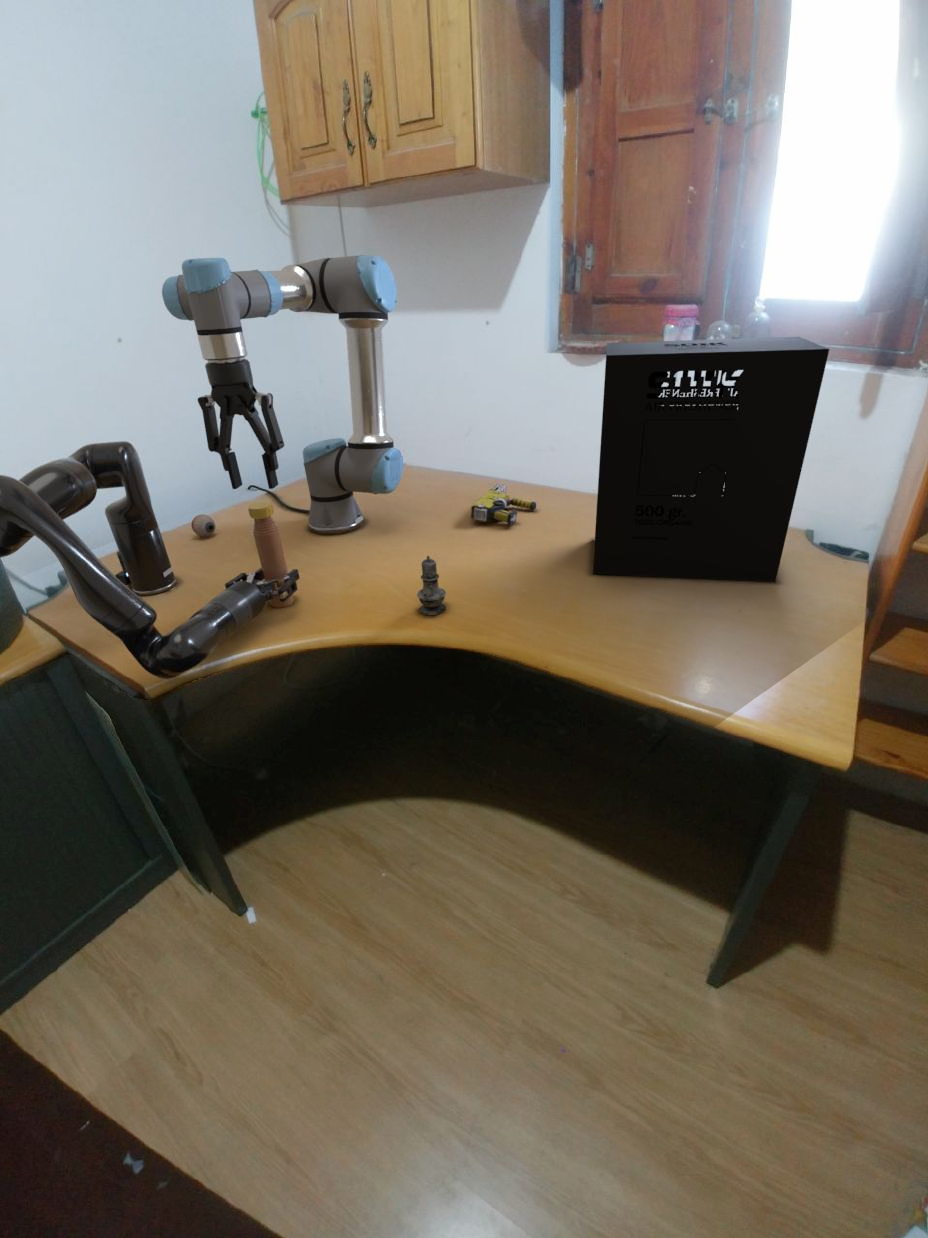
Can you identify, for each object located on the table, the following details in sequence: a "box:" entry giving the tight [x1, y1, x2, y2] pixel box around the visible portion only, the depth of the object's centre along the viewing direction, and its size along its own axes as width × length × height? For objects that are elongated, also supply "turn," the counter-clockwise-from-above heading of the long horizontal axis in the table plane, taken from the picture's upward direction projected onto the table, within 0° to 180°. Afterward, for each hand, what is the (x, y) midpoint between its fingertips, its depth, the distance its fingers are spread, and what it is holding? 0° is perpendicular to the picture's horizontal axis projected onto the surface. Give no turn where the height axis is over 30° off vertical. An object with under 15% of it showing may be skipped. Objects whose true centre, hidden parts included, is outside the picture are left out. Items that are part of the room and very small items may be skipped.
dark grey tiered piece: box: [416, 555, 447, 616], centre depth 121 cm, size 6×6×12 cm
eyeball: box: [191, 514, 216, 538], centre depth 166 cm, size 6×6×6 cm
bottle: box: [252, 516, 295, 608], centre depth 125 cm, size 5×5×22 cm
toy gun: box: [470, 483, 537, 527], centre depth 170 cm, size 5×24×15 cm
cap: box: [247, 500, 275, 520], centre depth 120 cm, size 5×5×2 cm
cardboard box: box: [592, 336, 830, 583], centre depth 128 cm, size 38×20×45 cm, turn 78°
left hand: (281, 571), depth 129 cm, fingers open, 7 cm apart
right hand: (255, 486), depth 118 cm, fingers open, 7 cm apart
